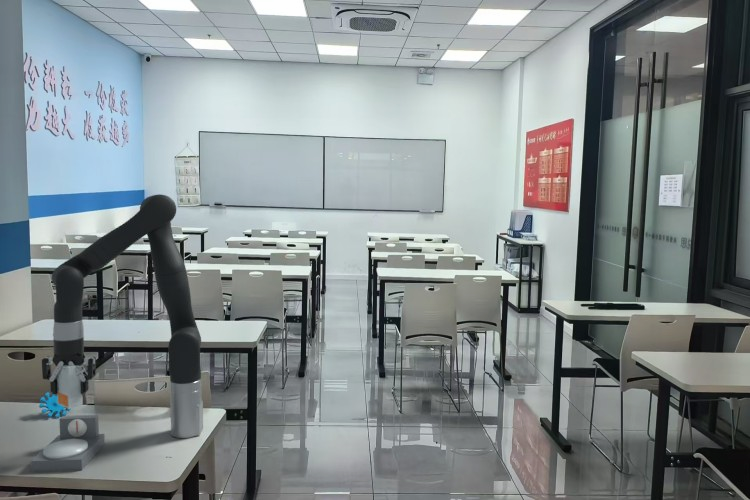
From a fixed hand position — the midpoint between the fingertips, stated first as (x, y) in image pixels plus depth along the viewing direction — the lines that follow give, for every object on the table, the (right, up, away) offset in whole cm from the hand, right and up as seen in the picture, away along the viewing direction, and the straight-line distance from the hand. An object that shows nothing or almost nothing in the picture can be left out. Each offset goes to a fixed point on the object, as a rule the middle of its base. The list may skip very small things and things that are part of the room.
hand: (69, 393), depth 162 cm
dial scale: (0, -18, +1) cm, 18 cm away
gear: (-21, -15, +32) cm, 41 cm away
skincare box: (0, -4, 0) cm, 4 cm away
